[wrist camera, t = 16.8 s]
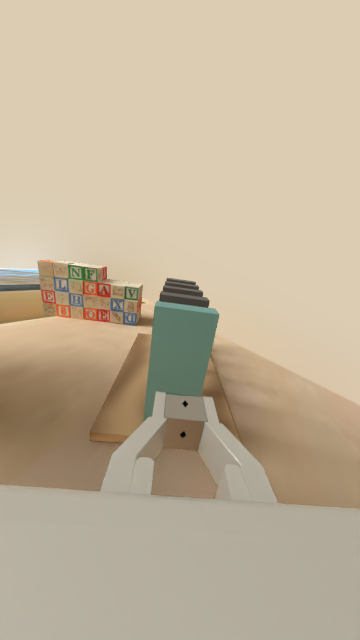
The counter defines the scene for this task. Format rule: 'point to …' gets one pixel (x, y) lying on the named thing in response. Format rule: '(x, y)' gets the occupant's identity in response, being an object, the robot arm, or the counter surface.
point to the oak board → (130, 393)
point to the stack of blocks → (87, 293)
